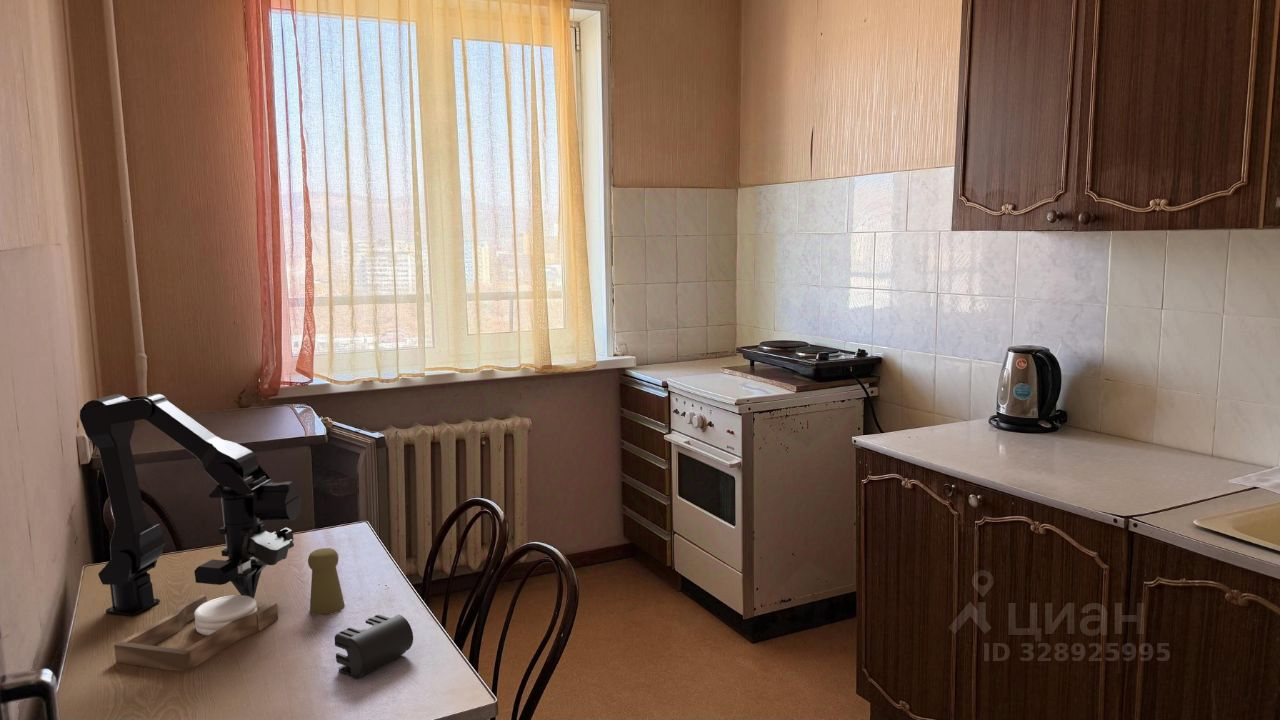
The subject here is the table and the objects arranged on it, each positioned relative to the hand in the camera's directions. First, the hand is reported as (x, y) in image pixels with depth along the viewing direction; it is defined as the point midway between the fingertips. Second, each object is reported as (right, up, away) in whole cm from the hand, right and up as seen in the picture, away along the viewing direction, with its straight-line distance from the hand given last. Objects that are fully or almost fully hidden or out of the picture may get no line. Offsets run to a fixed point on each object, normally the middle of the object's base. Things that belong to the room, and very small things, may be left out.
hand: (249, 602), depth 162 cm
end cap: (+30, -4, -22) cm, 37 cm away
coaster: (-1, -3, -6) cm, 7 cm away
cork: (+14, -1, 0) cm, 14 cm away
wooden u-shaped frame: (-4, -3, -12) cm, 13 cm away
